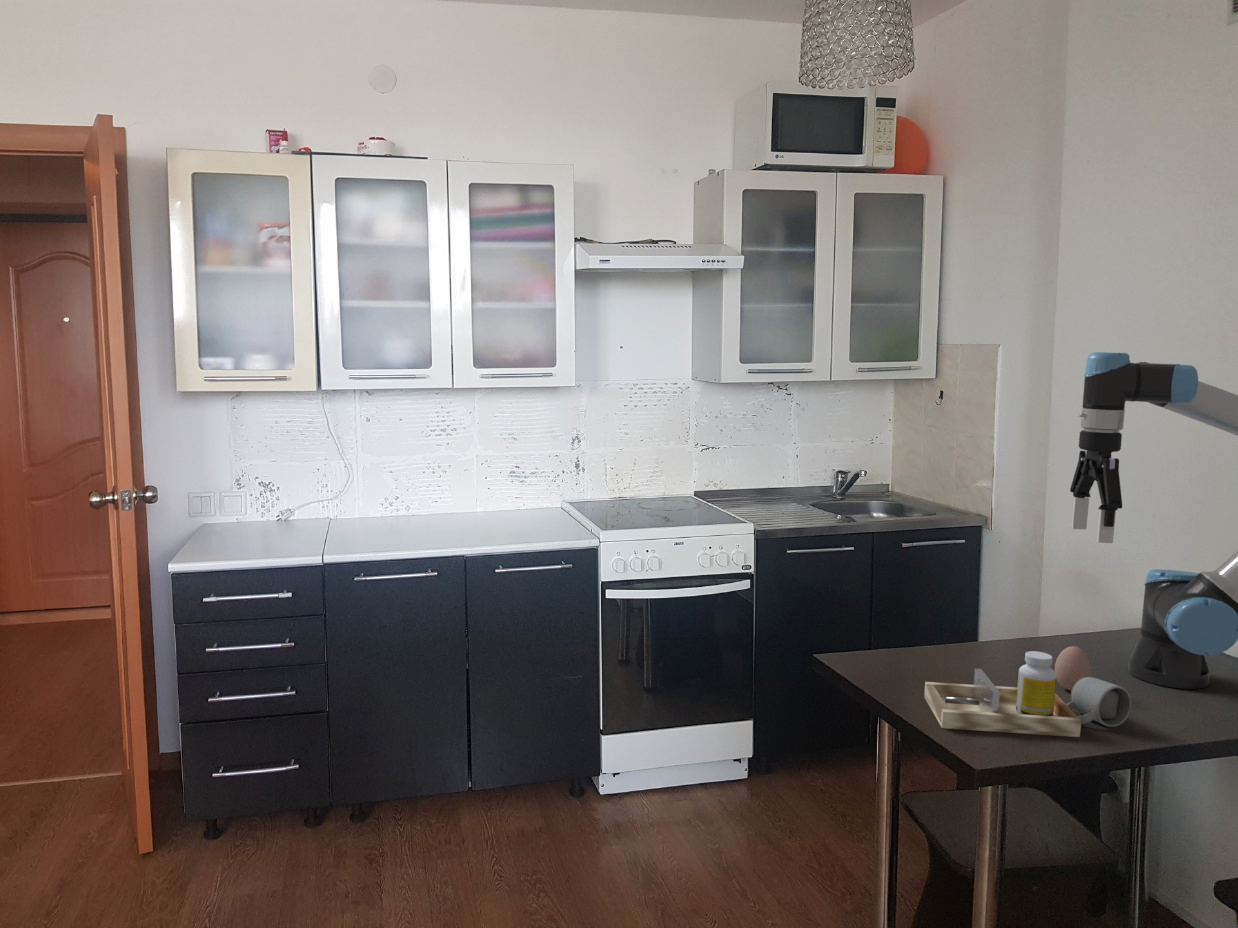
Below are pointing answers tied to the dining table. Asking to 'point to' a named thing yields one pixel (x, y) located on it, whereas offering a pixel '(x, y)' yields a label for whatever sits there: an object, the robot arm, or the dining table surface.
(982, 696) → the pusher
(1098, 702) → the ceramic mug
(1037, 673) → the pill bottle
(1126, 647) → the dining table surface
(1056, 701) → the wooden tray
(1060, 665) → the egg
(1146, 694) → the dining table surface
